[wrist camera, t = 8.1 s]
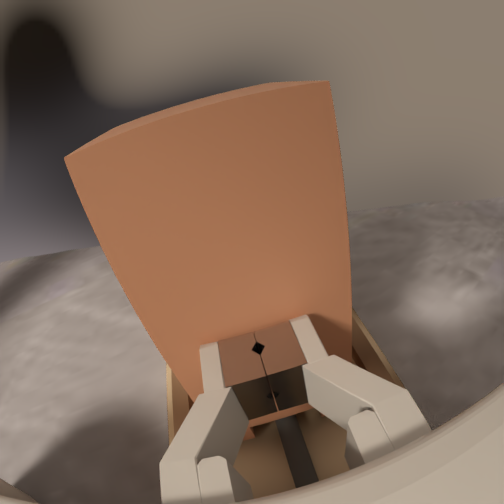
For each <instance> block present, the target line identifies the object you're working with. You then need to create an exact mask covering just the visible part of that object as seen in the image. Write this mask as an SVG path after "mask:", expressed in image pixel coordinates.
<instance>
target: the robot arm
mask: <svg viewBox="0 0 504 504" xmlns="http://www.w3.org/2000/svg"><path fill="white" fill-rule="evenodd" d="M254 334H255V336H254ZM255 337H256V339H255ZM256 341H257V342H256ZM257 344H258V345H257ZM258 347H259V348H258ZM199 351H200V361H201V370H202V379H203V388H204V393H203V394H199V395H198V397H197V399H196V401H195V402H194V404H193V406H192V408H191V409H190V411H189V413H188V415H187V416H186V418H185V420H184V422H183V423H182V425H181V427H180V429H179V430H178V432H177V434H176V435H175V437H174V439H173V441H172V442H171V444H170V446H169V448H168V449H167V451H166V453H165V454H164V456H163V458H162V460H161V461H160V463H159V469H160V486H161V499H162V504H504V382H503V383H502V384H501V385H500V386H498V387H497V388H496V389H494V390H493V391H492V392H490V393H489V394H488V395H486V396H485V397H484V398H482V399H481V400H479V401H478V402H477V403H475V404H474V405H472V406H471V407H469V408H468V409H466V410H465V411H463V412H462V413H460V414H459V415H457V416H456V417H454V418H453V419H451V420H449V421H448V422H446V423H444V424H443V425H441V426H439V427H438V428H436V429H434V430H433V431H432V429H431V428H430V426H429V424H428V423H427V421H426V419H425V418H424V416H423V414H422V413H421V411H420V409H419V408H418V406H417V405H416V403H415V401H414V400H413V398H412V397H411V395H410V393H409V392H408V390H406V389H404V388H402V387H400V386H398V385H395V384H393V383H391V382H389V381H387V380H385V379H383V378H381V377H379V376H377V375H375V374H372V373H370V372H368V371H366V370H364V369H362V368H360V367H358V366H356V365H354V364H352V363H350V362H348V361H346V360H344V359H342V358H340V357H338V356H336V355H331V356H328V354H327V352H326V350H325V348H324V346H323V344H322V342H321V340H320V338H319V336H318V334H317V332H316V330H315V328H314V326H313V324H312V322H311V320H310V318H309V316H307V315H306V314H305V315H302V316H299V317H296V318H293V319H290V320H289V321H288V320H287V321H284V322H281V323H278V324H275V325H272V326H269V327H265V328H262V329H259V330H256V331H254V333H253V332H250V333H246V334H242V335H239V336H235V337H231V338H227V339H223V340H219V341H217V342H212V343H208V344H204V345H200V350H199ZM261 357H262V358H261ZM269 383H270V384H269ZM270 386H271V387H270ZM271 389H272V390H271ZM272 392H273V393H272ZM273 395H274V397H273ZM274 398H275V400H274ZM275 401H276V403H275ZM305 403H309V404H310V405H311V406H312V407H314V408H315V409H317V410H318V411H319V412H321V413H322V414H323V415H325V416H326V417H328V418H329V419H331V420H332V421H333V422H335V423H336V424H338V425H339V426H341V427H342V428H343V429H345V430H346V431H347V438H346V448H345V459H346V461H347V464H348V466H349V469H350V470H349V471H346V472H344V473H341V474H338V475H336V476H333V477H330V478H327V479H324V480H321V481H318V482H315V483H312V484H309V485H306V486H302V487H299V488H295V489H292V490H288V491H285V492H281V493H277V494H273V495H269V496H265V497H260V498H256V499H254V497H253V493H252V489H251V485H250V484H249V483H248V482H247V481H246V480H245V479H244V478H243V477H242V476H241V475H240V474H239V473H238V472H237V471H236V469H235V468H234V467H233V465H234V462H235V460H236V457H237V454H238V452H239V449H240V446H241V444H242V441H243V438H244V436H245V433H246V430H247V427H248V424H249V420H252V419H255V418H258V417H262V416H265V415H268V414H272V413H275V412H278V410H279V411H281V410H285V409H289V408H292V407H295V406H299V405H302V404H305ZM276 404H277V407H278V410H277V407H276ZM0 504H37V503H32V502H27V501H22V500H18V499H14V498H10V497H6V496H2V495H0Z"/></svg>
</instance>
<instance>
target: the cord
mask: <svg viewBox="0 0 504 504" xmlns="http://www.w3.org/2000/svg"><path fill="white" fill-rule="evenodd" d="M275 422H276V425H277V429H278V432H279V435H280V439H281V442H282V445H283V448H284V452H285V455H286V458H287V461H288V465H289V468H290V471H291V474H292V477H293V480H294V484H295V487H296V488H299V487H302V486H306V485H309V484H312V483H315V482H318V481H319V479H318V477H317V474H316V471H315V468H314V465H313V463H312V460H311V457H310V454H309V451H308V449H307V446H306V443H305V440H304V437H303V435H302V432H301V429H300V426H299V423H298V420H297V418H296V415H295V414H294V415H291V416H288V417H285V418H281V419H278V420H275Z"/></svg>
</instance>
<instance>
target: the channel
mask: <svg viewBox="0 0 504 504" xmlns="http://www.w3.org/2000/svg"><path fill="white" fill-rule="evenodd" d="M352 364H354V365H356V366H358V367H360V368H362V369H364V370H366V371H368V372H370V373H372V374H375V375H377V376H379V377H381V378H383V379H385V380H387V381H389V382H391V383H393V384H395V385H398V386H400V387H402V388H404V389H406V388H405V387H404V385H403V384H402V382H401V381H400V379H399V377H398V376H397V374H396V373H395V371H394V370H393V368H392V366H391V365H390V363H389V362H388V360H387V359H386V357H385V356H384V354H383V353H382V351H381V350H380V348H379V347H378V345H377V344H376V342H375V341H374V339H373V338H372V336H371V335H370V333H369V332H368V330H367V329H366V327H365V326H364V324H363V323H362V321H361V320H360V318H359V317H358V315H357V314H356V312H355V311H354V309H353V308H352ZM166 372H167V412H168V433H169V446H170V444H171V442H172V441H173V439H174V437H175V435H176V434H177V432H178V430H179V429H180V427H181V425H182V423H183V422H184V420H185V418H186V416H187V415H188V413H189V411H190V409H191V408H192V406H193V404H194V402H193V400H192V399H191V398H190V396H189V395H188V393H187V392H186V391H185V389H184V388H183V386H182V385H181V383H180V382H179V380H178V379H177V377H176V376H175V374H174V373H173V371H172V370H171V368H170V367H169V365H168V364H167V362H166ZM295 415H296V418H297V420H298V423H299V426H300V429H301V432H302V435H303V437H304V440H305V443H306V446H307V449H308V451H309V454H310V457H311V460H312V463H313V465H314V468H315V471H316V474H317V477H318V479H319V481H321V480H324V479H327V478H330V477H333V476H336V475H338V474H341V473H344V472H346V471H349V470H350V469H349V466H348V464H347V461H346V459H345V448H346V438H347V431H346V430H345V429H343V428H342V427H341V426H339V425H338V424H336V423H335V422H333V421H332V420H331V419H329V418H328V417H326V416H324V417H321V415H320V412H319V411H318V410H317V409H315V408H312V409H309V410H306V411H303V412H300V413H297V414H295ZM253 430H254V434H255V438H252V439H248V440H244V441H242V444H241V446H240V449H239V452H238V454H237V457H236V460H235V462H234V465H233V467H234V468H235V469H236V471H237V472H238V473H239V474H240V475H241V476H242V477H243V478H244V479H245V480H246V481H247V482H248V483H249V484H250V485H251V489H252V493H253V497H254V499H256V498H260V497H265V496H269V495H273V494H277V493H281V492H285V491H288V490H292V489H295V488H296V487H295V484H294V480H293V477H292V474H291V471H290V468H289V465H288V461H287V458H286V455H285V452H284V448H283V445H282V442H281V439H280V435H279V432H278V429H277V425H276V422H275V421H271V422H268V423H264V424H261V425H257V426H253Z"/></svg>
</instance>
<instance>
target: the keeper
mask: <svg viewBox="0 0 504 504" xmlns="http://www.w3.org/2000/svg"><path fill="white" fill-rule="evenodd" d="M64 160H65V163H66V165H67V168H68V171H69V173H70V176H71V178H72V181H73V183H74V186H75V188H76V191H77V193H78V196H79V198H80V201H81V203H82V205H83V207H84V210H85V212H86V214H87V217H88V219H89V221H90V223H91V226H92V228H93V230H94V232H95V234H96V236H97V239H98V241H99V243H100V245H101V247H102V249H103V251H104V253H105V255H106V257H107V259H108V261H109V263H110V265H111V267H112V269H113V271H114V273H115V275H116V277H117V279H118V281H119V283H120V284H121V286H122V288H123V290H124V292H125V294H126V295H127V297H128V299H129V301H130V303H131V304H132V306H133V308H134V310H135V312H136V313H137V315H138V317H139V318H140V320H141V322H142V324H143V325H144V327H145V329H146V330H147V332H148V334H149V335H150V337H151V339H152V340H153V342H154V343H155V345H156V347H157V348H158V350H159V351H160V353H161V355H162V356H163V358H164V359H165V361H166V362H167V364H168V365H169V367H170V368H171V370H172V371H173V373H174V374H175V376H176V377H177V379H178V380H179V382H180V383H181V385H182V386H183V388H184V389H185V391H186V392H187V393H188V395H189V396H190V398H191V399H192V400H193V402H195V401H196V399H197V397H198V395H199V394H203V393H204V388H203V379H202V370H201V361H200V351H199V350H200V345H204V344H208V343H212V342H217V341H219V340H223V339H227V338H231V337H235V336H239V335H242V334H246V333H250V332H253V333H254V331H256V330H259V329H262V328H265V327H269V326H272V325H275V324H278V323H281V322H284V321H287V320H288V321H289V320H290V319H293V318H296V317H299V316H302V315H305V314H306V315H307V316H309V318H310V320H311V322H312V324H313V326H314V328H315V330H316V332H317V334H318V336H319V338H320V340H321V342H322V344H323V346H324V348H325V350H326V352H327V354H328V356H331V355H336V356H338V357H340V358H342V359H344V360H346V361H348V362H350V363H352V293H351V266H350V247H349V232H348V219H347V207H346V197H345V187H344V179H343V169H342V161H341V153H340V145H339V139H338V131H337V125H336V119H335V112H334V106H333V100H332V95H331V89H330V83H329V81H293V82H274V83H266V84H260V85H256V86H251V87H246V88H242V89H237V90H233V91H229V92H225V93H221V94H217V95H213V96H210V97H205V98H202V99H198V100H195V101H191V102H188V103H185V104H181V105H178V106H174V107H171V108H168V109H165V110H162V111H159V112H156V113H153V114H150V115H147V116H144V117H142V118H139V119H136V120H133V121H131V122H128V123H125V124H123V125H120V126H118V127H115V128H113V129H111V130H110V131H108V132H106V133H104V134H102V135H101V136H99V137H97V138H95V139H94V140H92V141H90V142H89V143H87V144H85V145H84V146H82V147H80V148H79V149H77V150H76V151H74V152H72V153H71V154H69V155H68V156H66V157H64ZM254 336H255V334H254ZM255 339H256V337H255ZM256 342H257V341H256ZM257 345H258V344H257ZM258 348H259V347H258ZM261 358H262V357H261ZM269 384H270V383H269ZM270 387H271V386H270ZM271 390H272V389H271ZM272 393H273V392H272ZM273 397H274V395H273ZM274 400H275V398H274ZM275 403H276V401H275ZM276 407H277V404H276ZM312 408H314V407H312V406H311V405H310V404H309V403H305V404H302V405H299V406H295V407H292V408H289V409H285V410H281V411H279V410H278V407H277V410H278V412H275V413H272V414H268V415H265V416H262V417H258V418H255V419H252V420H249V424H248V427H247V430H246V433H245V436H244V438H243V441H244V440H248V439H252V438H255V434H254V430H253V426H257V425H261V424H264V423H268V422H271V421H275V420H278V419H281V418H285V417H288V416H291V415H294V414H297V413H300V412H303V411H306V410H309V409H312ZM320 415H321V417H324V416H325V415H323V414H322V413H321V412H320Z"/></svg>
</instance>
